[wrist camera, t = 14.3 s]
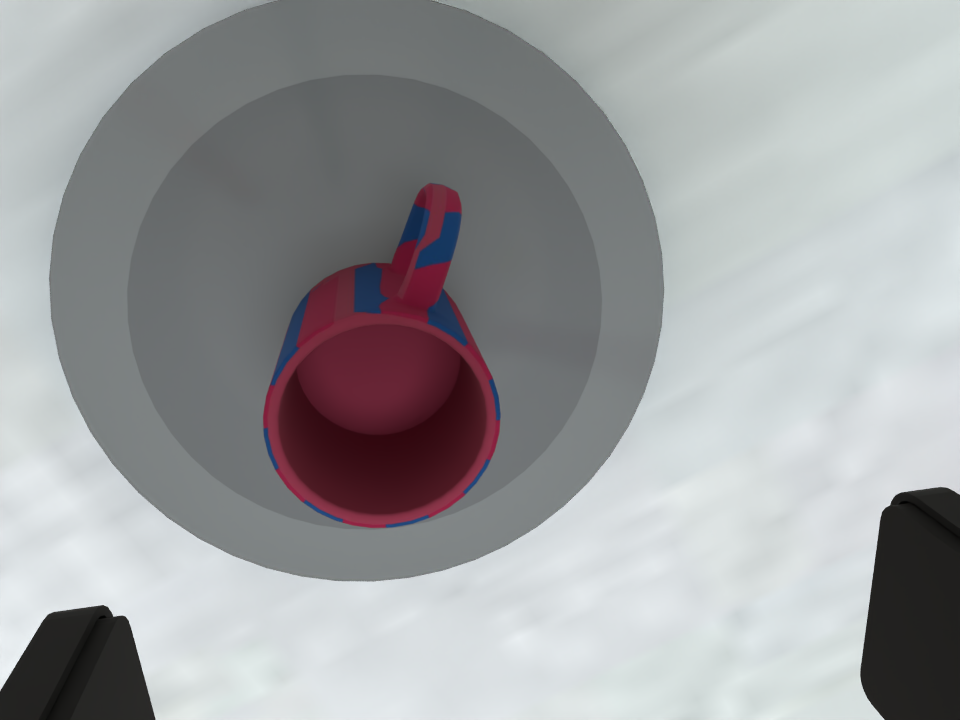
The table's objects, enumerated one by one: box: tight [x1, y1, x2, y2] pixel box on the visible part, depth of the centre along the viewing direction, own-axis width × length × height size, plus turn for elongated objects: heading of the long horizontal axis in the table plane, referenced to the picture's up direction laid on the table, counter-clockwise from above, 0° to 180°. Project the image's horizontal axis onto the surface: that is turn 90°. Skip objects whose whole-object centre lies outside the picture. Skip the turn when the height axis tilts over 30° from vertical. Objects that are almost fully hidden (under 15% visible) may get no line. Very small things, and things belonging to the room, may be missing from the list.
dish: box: [49, 0, 664, 581], centre depth 28 cm, size 22×22×1 cm
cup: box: [263, 183, 501, 528], centre depth 24 cm, size 7×10×7 cm
